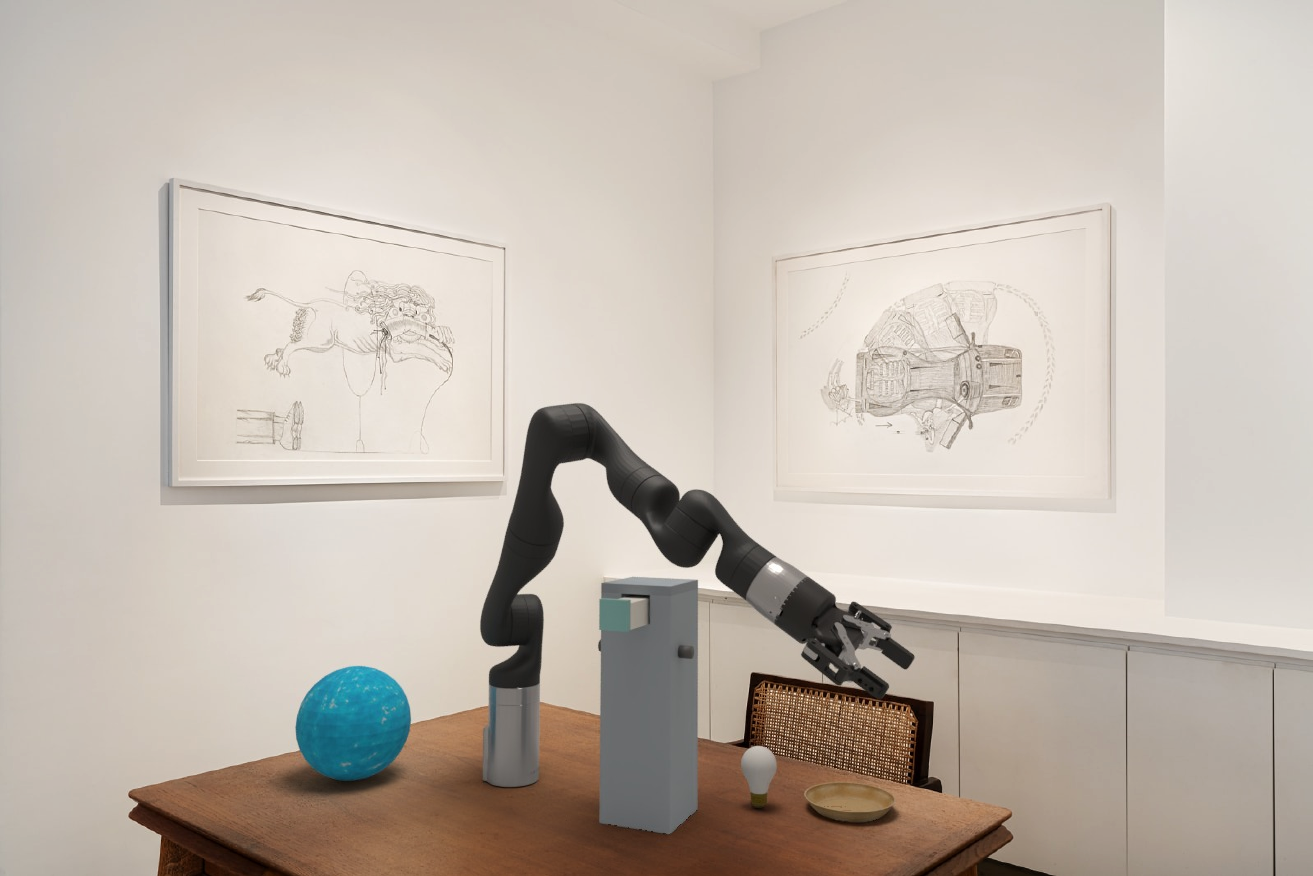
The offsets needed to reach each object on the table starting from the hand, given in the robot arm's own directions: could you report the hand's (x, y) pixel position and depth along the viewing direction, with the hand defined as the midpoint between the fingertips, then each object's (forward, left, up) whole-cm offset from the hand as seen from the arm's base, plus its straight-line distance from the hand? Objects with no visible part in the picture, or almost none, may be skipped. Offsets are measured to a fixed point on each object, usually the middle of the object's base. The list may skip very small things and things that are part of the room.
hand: (898, 678), depth 112 cm
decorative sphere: (-100, +20, -30) cm, 106 cm away
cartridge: (-43, +19, +2) cm, 47 cm away
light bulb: (-28, +35, -30) cm, 54 cm away
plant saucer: (-14, +40, -30) cm, 52 cm away
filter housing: (-43, +24, -30) cm, 57 cm away
